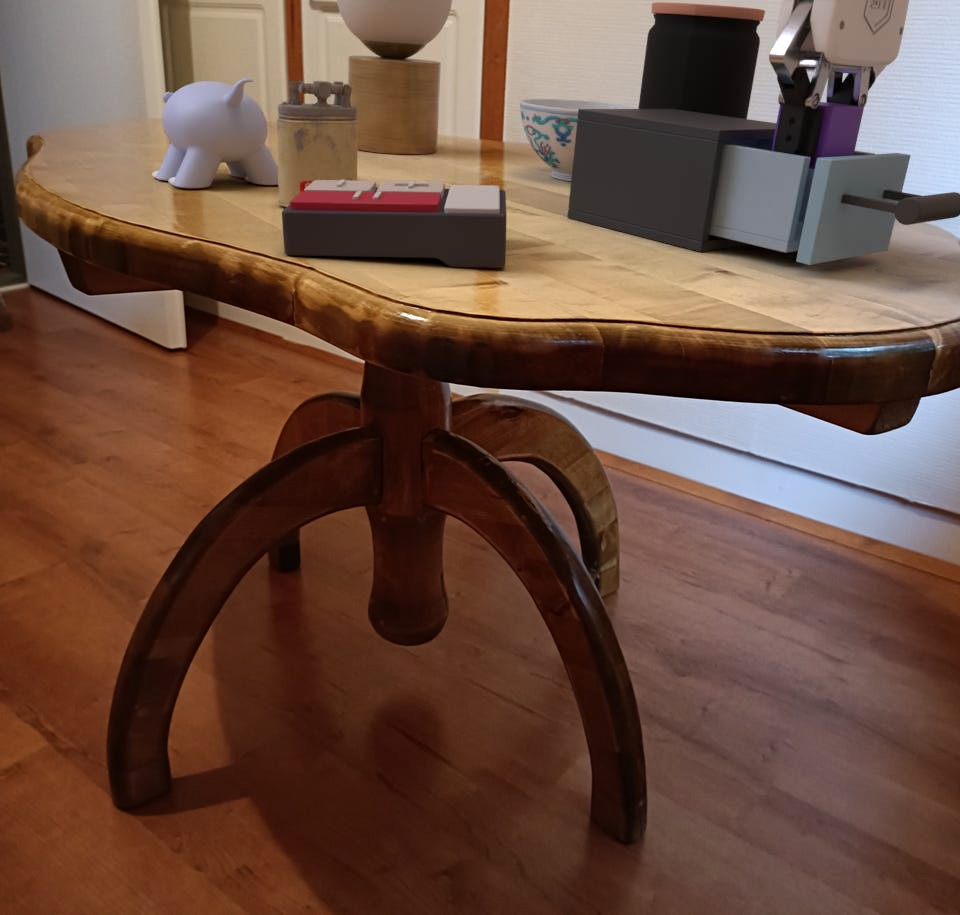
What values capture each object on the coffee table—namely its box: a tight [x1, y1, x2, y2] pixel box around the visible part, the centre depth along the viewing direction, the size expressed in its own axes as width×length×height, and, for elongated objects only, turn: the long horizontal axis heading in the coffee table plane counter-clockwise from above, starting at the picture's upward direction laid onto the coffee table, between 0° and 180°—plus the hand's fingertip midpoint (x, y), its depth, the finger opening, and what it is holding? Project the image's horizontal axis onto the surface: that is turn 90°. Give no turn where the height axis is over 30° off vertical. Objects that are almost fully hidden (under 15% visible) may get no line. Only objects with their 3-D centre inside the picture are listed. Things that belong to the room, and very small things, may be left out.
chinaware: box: [519, 98, 639, 182], centre depth 106 cm, size 15×15×8 cm
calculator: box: [281, 180, 507, 269], centre depth 69 cm, size 11×4×15 cm
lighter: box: [276, 80, 358, 208], centre depth 80 cm, size 7×4×10 cm, turn 125°
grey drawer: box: [709, 139, 960, 266], centre depth 73 cm, size 19×11×7 cm, turn 41°
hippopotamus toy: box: [151, 77, 278, 189], centre depth 89 cm, size 11×15×10 cm
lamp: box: [336, 0, 453, 155], centre depth 118 cm, size 15×14×25 cm
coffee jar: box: [638, 1, 766, 119], centre depth 95 cm, size 11×11×18 cm
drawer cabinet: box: [567, 109, 777, 253], centre depth 82 cm, size 15×13×9 cm
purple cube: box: [772, 101, 865, 169], centre depth 72 cm, size 4×4×4 cm
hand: (811, 160), depth 73 cm, fingers closed on purple cube, 4 cm apart
